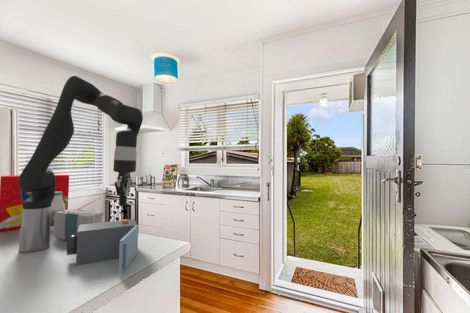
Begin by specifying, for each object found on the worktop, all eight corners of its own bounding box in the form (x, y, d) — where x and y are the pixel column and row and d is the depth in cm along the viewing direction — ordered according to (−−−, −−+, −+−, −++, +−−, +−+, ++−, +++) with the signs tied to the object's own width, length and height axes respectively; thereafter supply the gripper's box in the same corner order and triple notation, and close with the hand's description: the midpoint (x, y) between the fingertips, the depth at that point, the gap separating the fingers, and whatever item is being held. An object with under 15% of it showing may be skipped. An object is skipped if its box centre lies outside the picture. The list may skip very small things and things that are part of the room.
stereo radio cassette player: (52, 240, 104) (54, 197, 104) (69, 234, 112) (70, 194, 112) (88, 245, 99) (90, 200, 100) (103, 239, 107) (105, 197, 108)
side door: (124, 274, 73) (125, 240, 74) (117, 274, 73) (119, 240, 73) (139, 252, 90) (140, 225, 91) (134, 252, 90) (135, 225, 90)
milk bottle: (48, 228, 121) (50, 191, 121) (66, 226, 124) (67, 190, 125) (43, 232, 114) (45, 193, 114) (62, 230, 117) (64, 192, 118)
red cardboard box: (-3, 232, 112) (0, 176, 113) (-1, 228, 118) (1, 175, 119) (67, 223, 132) (69, 175, 132) (65, 220, 137) (67, 174, 138)
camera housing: (65, 267, 79) (67, 230, 79) (69, 256, 87) (70, 223, 88) (136, 254, 91) (137, 222, 91) (133, 246, 99) (134, 216, 100)
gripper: (131, 159, 78) (128, 209, 78) (140, 159, 91) (137, 202, 91) (107, 158, 77) (104, 209, 76) (120, 158, 90) (118, 202, 89)
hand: (122, 205), depth 83 cm, fingers closed
